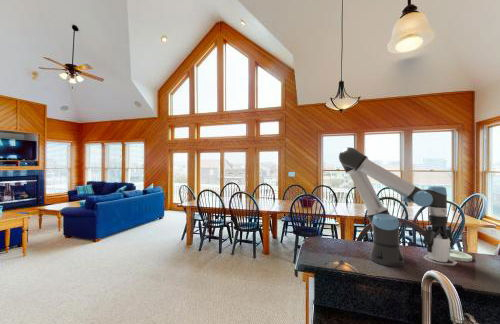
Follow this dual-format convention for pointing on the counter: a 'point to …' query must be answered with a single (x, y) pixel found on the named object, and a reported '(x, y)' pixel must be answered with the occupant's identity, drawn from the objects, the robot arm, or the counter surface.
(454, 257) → the pale green flat disc
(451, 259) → the seat ring
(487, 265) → the counter surface
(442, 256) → the cup
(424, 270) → the counter surface
